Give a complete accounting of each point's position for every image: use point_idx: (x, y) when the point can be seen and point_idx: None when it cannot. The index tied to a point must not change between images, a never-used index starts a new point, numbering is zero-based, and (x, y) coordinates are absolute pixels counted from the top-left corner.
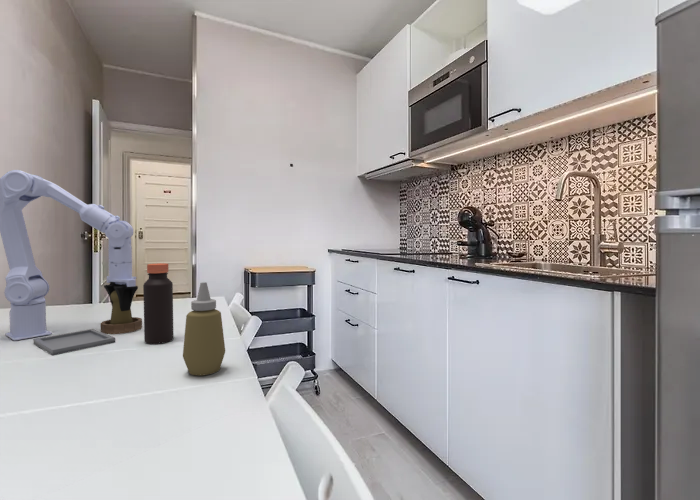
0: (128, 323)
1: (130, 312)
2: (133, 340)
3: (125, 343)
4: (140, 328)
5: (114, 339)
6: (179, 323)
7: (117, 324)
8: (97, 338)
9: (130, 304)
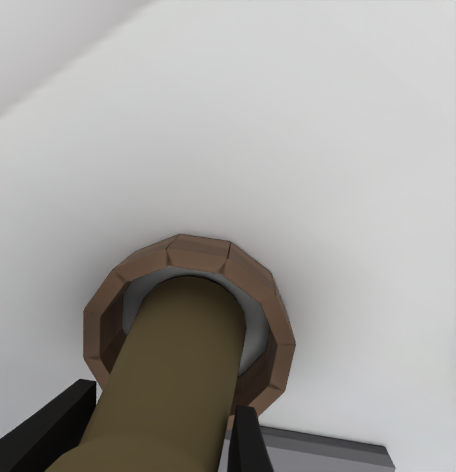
0: (283, 369)
1: (219, 361)
2: (432, 404)
3: (440, 439)
4: (272, 277)
5: (391, 463)
6: (363, 54)
7: (250, 405)
8: (288, 465)
9: (265, 453)
